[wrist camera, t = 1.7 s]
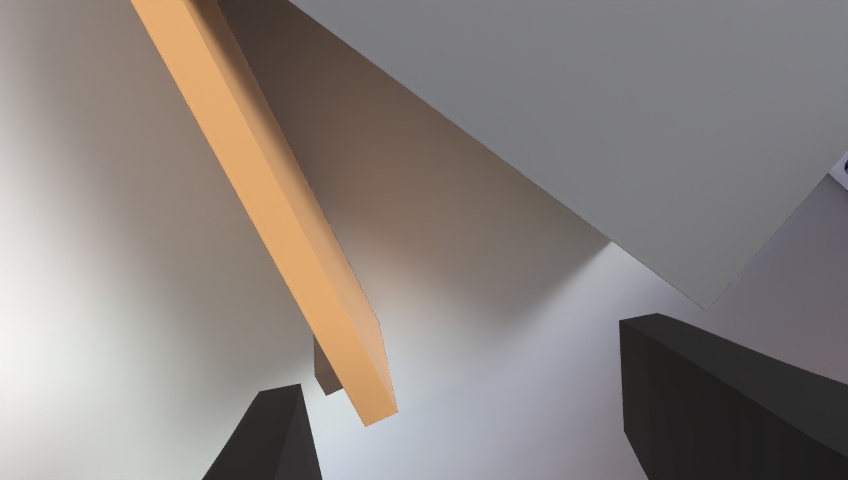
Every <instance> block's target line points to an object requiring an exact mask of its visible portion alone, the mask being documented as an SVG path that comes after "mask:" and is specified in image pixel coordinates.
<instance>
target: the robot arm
mask: <svg viewBox="0 0 848 480" xmlns="http://www.w3.org/2000/svg"><path fill="white" fill-rule="evenodd" d="M847 160H848V151H847V152H846V153H845V154H844V155H843V156H842V158H841V159H840V160H839V161H838V162H837V163H836V164H835V166H834V167H833V168H832V169H831V170H830V171H829V172H828V173H829V174H830V175H831V176H832V177H833V178H834V179H836V180H837V181H838V182H839V183H840V184H841V185H842V186H843V187H844V188H846V189H847V190H848V169H847V170H844V167H845V163H846V162H847ZM619 329H620V352H621V374H622V396H623V418H624V432H625V434H626V436H627V438H628V440H629V442H630V444H631V446H632V448H633V450H634V452H635V454H636V456H637V458H638V460H639V462H640V464H641V466H642V468H643V470H644V472H645V474H646V475H647V477H648V479H649V480H848V385H847V384H844V383H841V382H838V381H835V380H832V379H829V378H826V377H824V376H821V375H818V374H815V373H812V372H809V371H806V370H803V369H800V368H798V367H795V366H792V365H790V364H787V363H784V362H782V361H779V360H776V359H774V358H771V357H769V356H766V355H764V354H761V353H759V352H756V351H754V350H751V349H749V348H746V347H744V346H741V345H739V344H736V343H734V342H731V341H729V340H727V339H724V338H722V337H719V336H717V335H714V334H712V333H709V332H707V331H705V330H702V329H700V328H697V327H695V326H692V325H690V324H687V323H685V322H682V321H679V320H677V319H674V318H671V317H668V316H665V315H662V314H658V313H654V314H649V315H644V316H639V317H634V318H629V319H624V320H619ZM202 480H322V476H321V471H320V467H319V462H318V458H317V454H316V449H315V445H314V441H313V436H312V432H311V427H310V423H309V419H308V414H307V410H306V406H305V401H304V397H303V392H302V388H301V384H296V385H290V386H285V387H280V388H275V389H270V390H265V391H260V392H259V393H258V394H257V396H256V397H255V399H254V400H253V401H252V403H251V405H250V406H249V408H248V409H247V411H246V413H245V414H244V416H243V418H242V419H241V421H240V423H239V424H238V426H237V427H236V429H235V431H234V432H233V434H232V435H231V437H230V438H229V440H228V442H227V443H226V445H225V446H224V448H223V449H222V451H221V452H220V454H219V455H218V457H217V458H216V460H215V461H214V463H213V464H212V466H211V467H210V469H209V470H208V472H207V473H206V474H205V476H204V477H203V479H202Z"/></svg>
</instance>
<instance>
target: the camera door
mask: <svg viewBox="0 0 848 480" xmlns="http://www.w3.org/2000/svg"><path fill="white" fill-rule="evenodd" d="M131 2H132V4H133V6H134V8H135V10H136V11H137V13H138V15H139V17H140V19H141V20H142V22H143V24H144V26H145V28H146V29H147V31H148V33H149V35H150V37H151V39H152V40H153V42H154V44H155V46H156V48H157V49H158V51H159V53H160V55H161V57H162V59H163V60H164V62H165V64H166V66H167V68H168V69H169V71H170V73H171V75H172V77H173V79H174V80H175V82H176V84H177V86H178V88H179V89H180V91H181V93H182V95H183V97H184V99H185V100H186V102H187V104H188V106H189V108H190V109H191V111H192V113H193V115H194V117H195V119H196V120H197V122H198V124H199V126H200V128H201V129H202V131H203V133H204V135H205V137H206V139H207V140H208V142H209V144H210V146H211V148H212V149H213V151H214V153H215V155H216V157H217V159H218V160H219V162H220V164H221V166H222V168H223V169H224V171H225V173H226V175H227V177H228V179H229V180H230V182H231V184H232V186H233V188H234V189H235V191H236V193H237V195H238V197H239V199H240V200H241V202H242V204H243V206H244V208H245V209H246V211H247V213H248V215H249V217H250V219H251V220H252V222H253V224H254V226H255V228H256V229H257V231H258V233H259V235H260V237H261V238H262V240H263V242H264V244H265V246H266V248H267V249H268V251H269V253H270V255H271V257H272V258H273V260H274V262H275V264H276V266H277V268H278V269H279V271H280V273H281V275H282V277H283V278H284V280H285V282H286V284H287V286H288V288H289V289H290V291H291V293H292V295H293V297H294V298H295V300H296V302H297V304H298V306H299V308H300V309H301V311H302V313H303V315H304V317H305V318H306V320H307V322H308V324H309V326H310V328H311V329H312V331H313V333H314V369H315V377H316V379H317V381H318V382H319V384H320V386H321V388H322V389H323V391H324V393H325V395H326V396H327V395H329V394H331V393H334V392H336V391H338V390H340V389H342V388H344V389H345V391H346V393H347V395H348V397H349V398H350V400H351V402H352V404H353V406H354V408H355V409H356V411H357V413H358V415H359V417H360V418H361V420H362V422H363V424H364V426H365V427H366V426H368V425H371V424H373V423H375V422H377V421H379V420H382V419H384V418H386V417H388V416H391V415H393V414H395V413H397V412H398V410H397V405H396V401H395V396H394V391H393V386H392V382H391V377H390V372H389V367H388V363H387V358H386V353H385V348H384V343H383V339H382V334H381V329H380V324H379V321H378V319H377V317H376V315H375V313H374V311H373V309H372V307H371V305H370V303H369V301H368V299H367V297H366V295H365V294H364V292H363V290H362V288H361V286H360V284H359V282H358V280H357V278H356V276H355V274H354V272H353V270H352V268H351V266H350V264H349V262H348V260H347V258H346V256H345V254H344V252H343V250H342V248H341V246H340V244H339V242H338V240H337V238H336V236H335V234H334V232H333V230H332V228H331V226H330V224H329V222H328V220H327V218H326V216H325V214H324V212H323V210H322V208H321V206H320V205H319V203H318V201H317V199H316V197H315V195H314V193H313V191H312V189H311V187H310V185H309V183H308V181H307V179H306V177H305V175H304V173H303V171H302V169H301V167H300V165H299V163H298V161H297V159H296V157H295V155H294V153H293V151H292V149H291V147H290V145H289V143H288V141H287V139H286V137H285V135H284V133H283V131H282V129H281V127H280V125H279V123H278V121H277V119H276V117H275V115H274V114H273V112H272V110H271V108H270V106H269V104H268V102H267V100H266V98H265V96H264V94H263V92H262V90H261V88H260V86H259V84H258V82H257V80H256V78H255V76H254V74H253V72H252V70H251V68H250V66H249V64H248V62H247V60H246V58H245V56H244V54H243V52H242V50H241V48H240V46H239V44H238V42H237V40H236V38H235V36H234V34H233V32H232V30H231V28H230V26H229V25H228V23H227V21H226V19H225V17H224V15H223V13H222V11H221V9H220V7H219V5H218V3H217V1H216V0H131Z"/></svg>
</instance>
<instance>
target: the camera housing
mask: <svg viewBox="0 0 848 480" xmlns="http://www.w3.org/2000/svg"><path fill="white" fill-rule="evenodd" d="M289 1H290V2H291V3H293V4H294V5H295V6H297V7H298V8H299V9H301V10H302V11H303V12H305V13H306V14H307V15H309V16H310V17H311V18H313V19H314V20H315V21H317V22H318V23H319V24H321V25H322V26H323V27H325V28H326V29H328V30H329V31H330V32H332V33H333V34H334V35H336V36H337V37H338V38H340V39H341V40H342V41H344V42H345V43H346V44H348V45H349V46H350V47H352V48H353V49H354V50H356V51H357V52H358V53H360V54H361V55H362V56H364V57H365V58H367V59H368V60H369V61H371V62H372V63H373V64H375V65H376V66H377V67H379V68H380V69H381V70H383V71H384V72H385V73H387V74H388V75H389V76H391V77H392V78H393V79H395V80H396V81H397V82H399V83H400V84H402V85H403V86H404V87H406V88H407V89H408V90H410V91H411V92H412V93H414V94H415V95H416V96H418V97H419V98H420V99H422V100H423V101H424V102H426V103H427V104H428V105H430V106H431V107H432V108H434V109H435V110H436V111H438V112H439V113H441V114H442V115H443V116H445V117H446V118H447V119H449V120H450V121H451V122H453V123H454V124H455V125H457V126H458V127H459V128H461V129H462V130H463V131H465V132H466V133H467V134H469V135H470V136H471V137H473V138H474V139H475V140H477V141H478V142H480V143H481V144H482V145H484V146H485V147H486V148H488V149H489V150H490V151H492V152H493V153H494V154H496V155H497V156H498V157H500V158H501V159H502V160H504V161H505V162H506V163H508V164H509V165H510V166H512V167H513V168H514V169H516V170H517V171H519V172H520V173H521V174H523V175H524V176H525V177H527V178H528V179H529V180H531V181H532V182H533V183H535V184H536V185H537V186H539V187H540V188H541V189H543V190H544V191H545V192H547V193H548V194H549V195H551V196H552V197H553V198H555V199H556V200H558V201H559V202H560V203H562V204H563V205H564V206H566V207H567V208H568V209H570V210H571V211H572V212H574V213H575V214H576V215H578V216H579V217H580V218H582V219H583V220H584V221H586V222H587V223H588V224H590V225H591V226H592V227H594V228H595V229H597V230H598V231H599V232H601V233H602V234H603V235H605V236H606V237H607V238H609V239H610V240H611V241H613V242H614V243H615V244H617V245H618V246H619V247H621V248H622V249H623V250H625V251H626V252H627V253H629V254H630V255H631V256H633V257H634V258H636V259H637V260H638V261H640V262H641V263H642V264H644V265H645V266H646V267H648V268H649V269H650V270H652V271H653V272H654V273H656V274H657V275H658V276H660V277H661V278H662V279H664V280H665V281H666V282H668V283H669V284H670V285H672V286H673V287H675V288H676V289H677V290H679V291H680V292H681V293H683V294H684V295H685V296H687V297H688V298H689V299H691V300H692V301H693V302H695V303H696V304H697V305H699V306H700V307H701V308H703V309H704V310H705V311H707V310H708V309H709V307H710V306H711V305H712V304H713V303H714V302H715V301H716V300H717V298H718V297H719V296H720V295H721V294H722V293H723V292H724V290H725V289H726V288H727V287H728V286H729V285H730V284H731V283H732V281H733V280H734V279H735V278H736V277H737V276H738V275H739V273H740V272H741V271H742V270H743V269H744V268H745V267H746V265H747V264H748V263H749V262H750V261H751V260H752V259H753V258H754V256H755V255H756V254H757V253H758V252H759V251H760V250H761V248H762V247H763V246H764V245H765V244H766V243H767V242H768V240H769V239H770V238H771V237H772V236H773V235H774V234H775V233H776V231H777V230H778V229H779V228H780V227H781V226H782V225H783V223H784V222H785V221H786V220H787V219H788V218H789V217H790V216H791V214H792V213H793V212H794V211H795V210H796V209H797V208H798V206H799V205H800V204H801V203H802V202H803V201H804V200H805V198H806V197H807V196H808V195H809V194H810V193H811V192H812V191H813V189H814V188H815V187H816V186H817V185H818V184H819V183H820V181H821V180H822V179H823V178H824V177H825V176H826V175H827V173H828V172H829V171H830V170H831V169H832V168H833V167H834V166H835V164H836V163H837V162H838V161H839V160H840V159H841V158H842V156H843V155H844V154H845V153H846V152H847V151H848V0H289Z"/></svg>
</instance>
